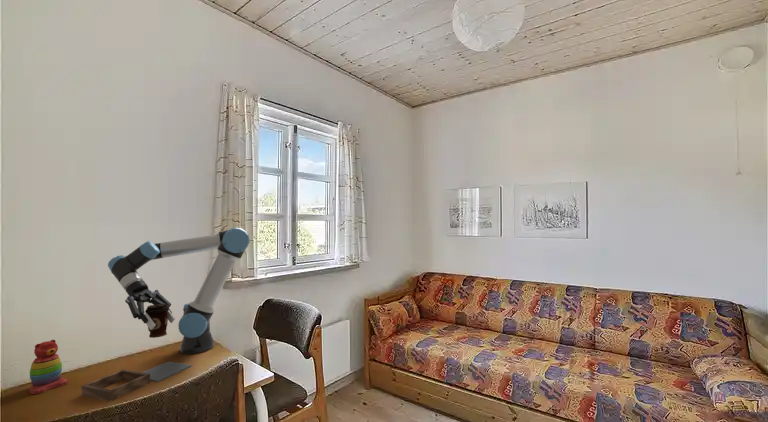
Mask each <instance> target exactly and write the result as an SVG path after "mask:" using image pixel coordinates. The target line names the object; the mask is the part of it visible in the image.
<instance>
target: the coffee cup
mask: <svg viewBox="0 0 768 422" xmlns="http://www.w3.org/2000/svg"><path fill="white" fill-rule="evenodd" d="M169 309H170V307H167V304H157V305H154V304H150V305H147V306H146V309H145V310H144V313H145V314H146V313H147V314H148V315H149V317H150V318H151V319H152V321H153V322H154V323H155V327H154V328H153V329H152V330H150V328H149V327H148V326H147V330H148V331H149V336H148V337H149V338H153V339H156V338H161V337H164V336H167V335H168V333H167V326H168V324H169V323H168V322H169V320H168V311H169Z"/></svg>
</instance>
